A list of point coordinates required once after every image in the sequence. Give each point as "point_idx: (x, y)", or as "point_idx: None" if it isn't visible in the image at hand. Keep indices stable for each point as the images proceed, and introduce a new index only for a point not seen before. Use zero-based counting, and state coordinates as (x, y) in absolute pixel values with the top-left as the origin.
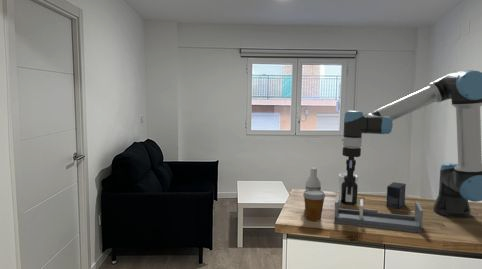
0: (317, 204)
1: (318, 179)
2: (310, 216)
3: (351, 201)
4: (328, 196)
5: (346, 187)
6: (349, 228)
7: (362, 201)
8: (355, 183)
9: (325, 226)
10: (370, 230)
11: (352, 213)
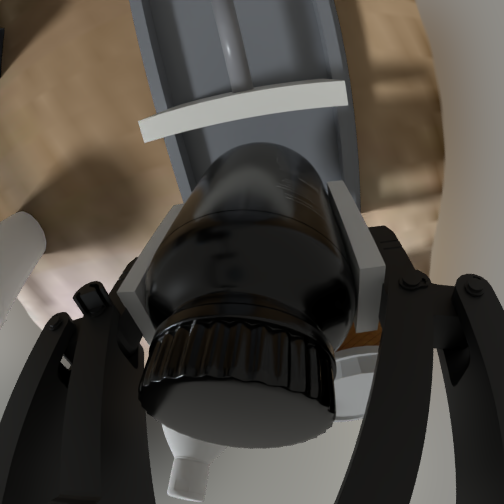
0: None
1: (190, 437)
2: None
3: (343, 186)
4: (47, 294)
5: (375, 318)
6: (407, 137)
7: (203, 107)
8: (258, 271)
9: (412, 238)
10: (391, 37)
11: (188, 158)
